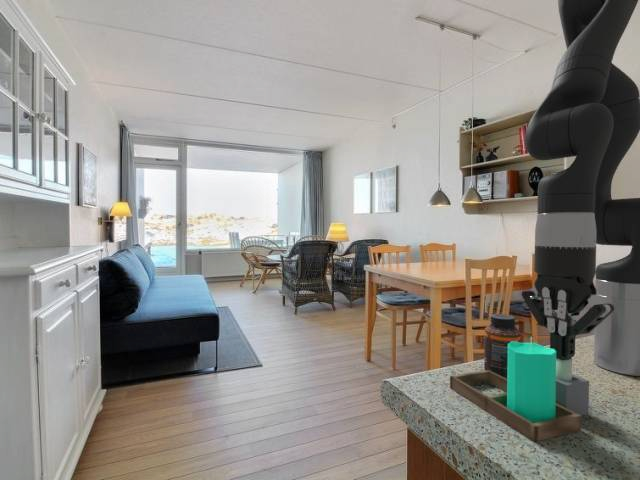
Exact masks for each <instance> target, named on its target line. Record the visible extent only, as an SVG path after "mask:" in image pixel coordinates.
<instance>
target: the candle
mask: <svg viewBox="0 0 640 480" xmlns="http://www.w3.org/2000/svg"><path fill="white" fill-rule="evenodd" d="M532 341H533V337H532V336H530V342H521V343H520V342H515V341H512V342H510V343H508V366H507V392H506V393H507V408H509V409H510V410H512V411H514V412H515V413H517V414H519V415H521V416H522V417H524V418H526V419H527V420H529V421H531V422H532V423H538V422H542V421H547V420H551V419H555V407H556V351H555V349H551V348H550V347H545V346H544V345H541V344H538V343H537V342H532Z"/></svg>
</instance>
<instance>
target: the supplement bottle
mask: <svg viewBox="0 0 640 480" xmlns="http://www.w3.org/2000/svg"><path fill="white" fill-rule="evenodd" d="M489 321H490V324H488V325H487V326H486V327H485V328H484V349H483V350H484V353H483V355H484V364H483V365H484V366H483V367H484V368H483V369H484V371H485V370H490V371H492V372H494V373H496V374H498V375H500V376H502V377H504V378H506V379H507V366H508V343H510V342H512V341H515V342H520V343H522V334H521V331H520V330H519V328H517V327H516V317H515V316H513V315H509V314H503V313H502V314H501V313H493V314H491V315H490V320H489Z"/></svg>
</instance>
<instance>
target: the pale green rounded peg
mask: <svg viewBox="0 0 640 480" xmlns="http://www.w3.org/2000/svg"><path fill="white" fill-rule="evenodd" d="M572 374H573V358H571V359H569V360H560V359H558V358H556V379H559V380H561V381H563V382H569V381H572Z"/></svg>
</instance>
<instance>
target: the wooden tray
mask: <svg viewBox="0 0 640 480" xmlns="http://www.w3.org/2000/svg"><path fill="white" fill-rule="evenodd" d="M488 383H489V384H491V385H492V386H495V388H498V389H500V390H502V391H503V392H504V393H497V394H492V395H486V394H485V393H483V392H482V391H480V390H478V389H476V388H474V387H473V386H477V385H484V384H488ZM449 389H452V390H453V391H454V392H456V393H458V395H459V394H460V395H461V396H462V397H464V398H465V399H467V400H468V401H470V402H472V403H473V404H475V405H476V406H478V407H479V408H481V409H483V410H484V411H486V412H487V413H489V414H490V415H492V416H493V417H495V418H496V419H497V420H500V421H501V422H503V423H504V424H506V425H507V426H509V427H511V429H512V428H513V429H514V430H515V431H517V432H518V433H520V434H522V435H523V436H524V437H526V438H528V439H529V440H531V441H533V442H534V443H535V442H540V441H543V440H547V439H552V438H555V437H560V436H563V435H567V434H570V433H571V434H572V433H574V432H578V431H581V430H582V416H581V415H579V414H577V413H575V412H573V411H571V410H569V409H567V408H565V407H563V406H561V405H559V404H557V403H556V407H555V419H551V420H547V421H542V422H538V423H532V422H531V421H529V420H527V419H526V418H524V417H522V416H521V415H519V414H517V413H515V412H514V411H512V410H510V409H509V408H507V379H506V378H504V377H502V376H500V375H498V374H496V373H494V372H492V371H490V370H485V369H484V370H480V371H473V372H468V373H467V372H466V373H461V374H456V375H449Z"/></svg>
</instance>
